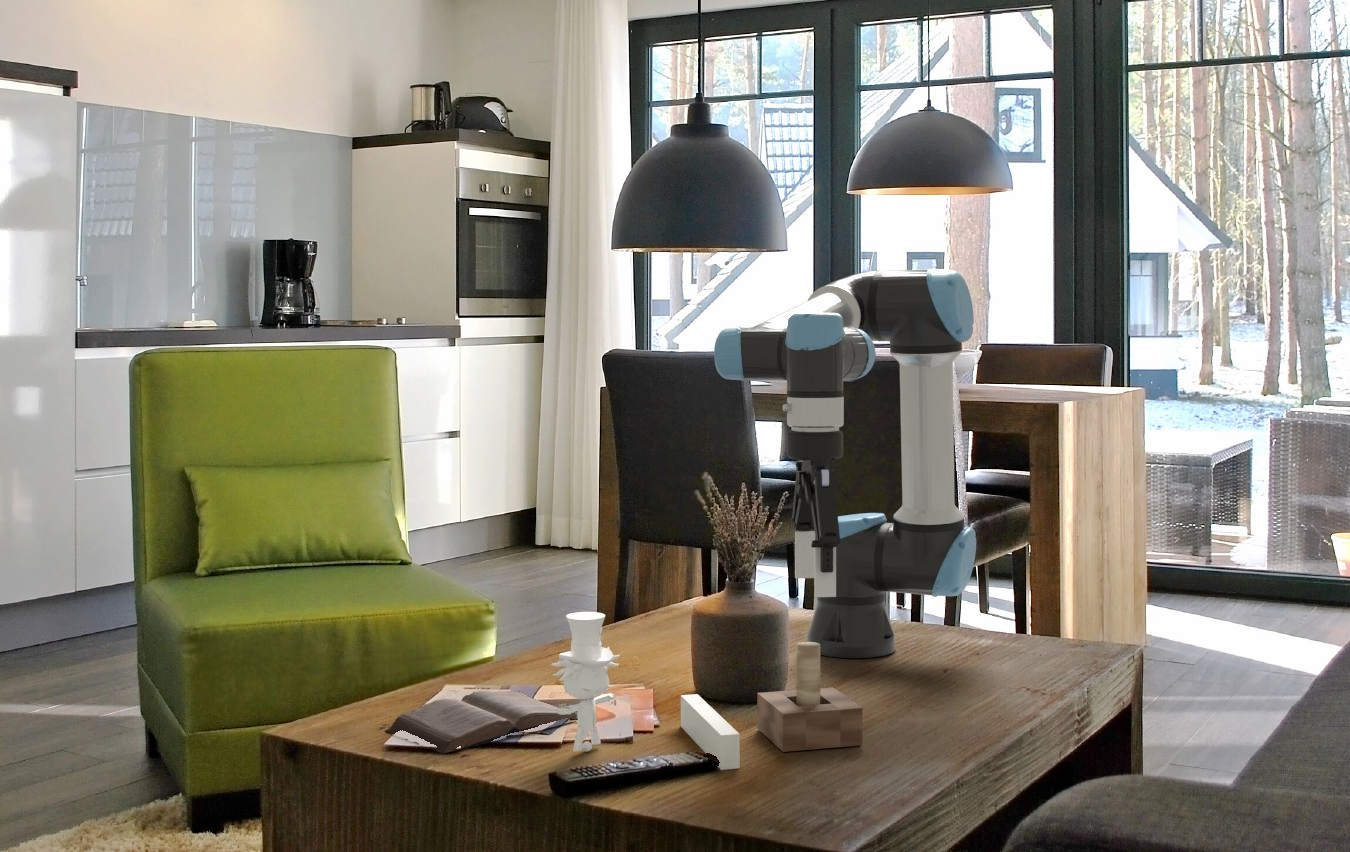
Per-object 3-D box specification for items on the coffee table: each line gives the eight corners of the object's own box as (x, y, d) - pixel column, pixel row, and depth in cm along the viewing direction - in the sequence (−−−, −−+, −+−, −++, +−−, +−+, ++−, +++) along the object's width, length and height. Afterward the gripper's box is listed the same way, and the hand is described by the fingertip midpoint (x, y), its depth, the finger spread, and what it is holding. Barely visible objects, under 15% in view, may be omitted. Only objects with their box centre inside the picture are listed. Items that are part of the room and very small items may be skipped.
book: (363, 735, 195) (362, 704, 194) (525, 694, 214) (526, 665, 213) (442, 777, 180) (443, 744, 180) (610, 729, 199) (610, 699, 199)
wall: (680, 726, 195) (680, 695, 195) (697, 725, 196) (697, 694, 195) (721, 770, 176) (721, 735, 175) (739, 768, 176) (739, 734, 176)
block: (757, 728, 193) (757, 693, 193) (832, 722, 196) (832, 687, 196) (783, 751, 182) (783, 714, 182) (862, 745, 185) (862, 707, 185)
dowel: (793, 730, 190) (792, 642, 189) (815, 728, 191) (815, 641, 190) (801, 736, 187) (801, 648, 186) (823, 734, 188) (823, 646, 187)
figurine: (582, 767, 177) (580, 626, 176) (538, 756, 182) (536, 618, 181) (634, 747, 185) (634, 612, 184) (591, 737, 190) (590, 606, 189)
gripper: (771, 422, 199) (771, 571, 200) (804, 436, 174) (804, 606, 175) (823, 422, 199) (823, 570, 201) (864, 435, 175) (863, 604, 176)
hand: (814, 587), depth 188 cm, fingers open, 13 cm apart
